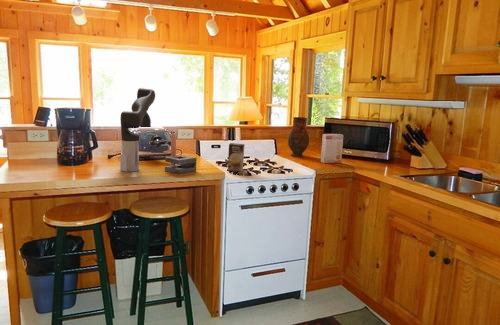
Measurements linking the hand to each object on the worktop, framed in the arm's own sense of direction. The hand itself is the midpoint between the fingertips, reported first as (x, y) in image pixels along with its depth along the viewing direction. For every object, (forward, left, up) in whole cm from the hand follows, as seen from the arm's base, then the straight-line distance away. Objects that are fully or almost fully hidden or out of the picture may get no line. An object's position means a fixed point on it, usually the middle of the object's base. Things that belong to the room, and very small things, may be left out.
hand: (165, 144), depth 237 cm
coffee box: (+19, -42, -12) cm, 48 cm away
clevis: (-9, -23, -12) cm, 27 cm away
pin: (-3, -10, -12) cm, 16 cm away
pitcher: (+99, -38, -12) cm, 107 cm away
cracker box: (+93, -70, -12) cm, 117 cm away
